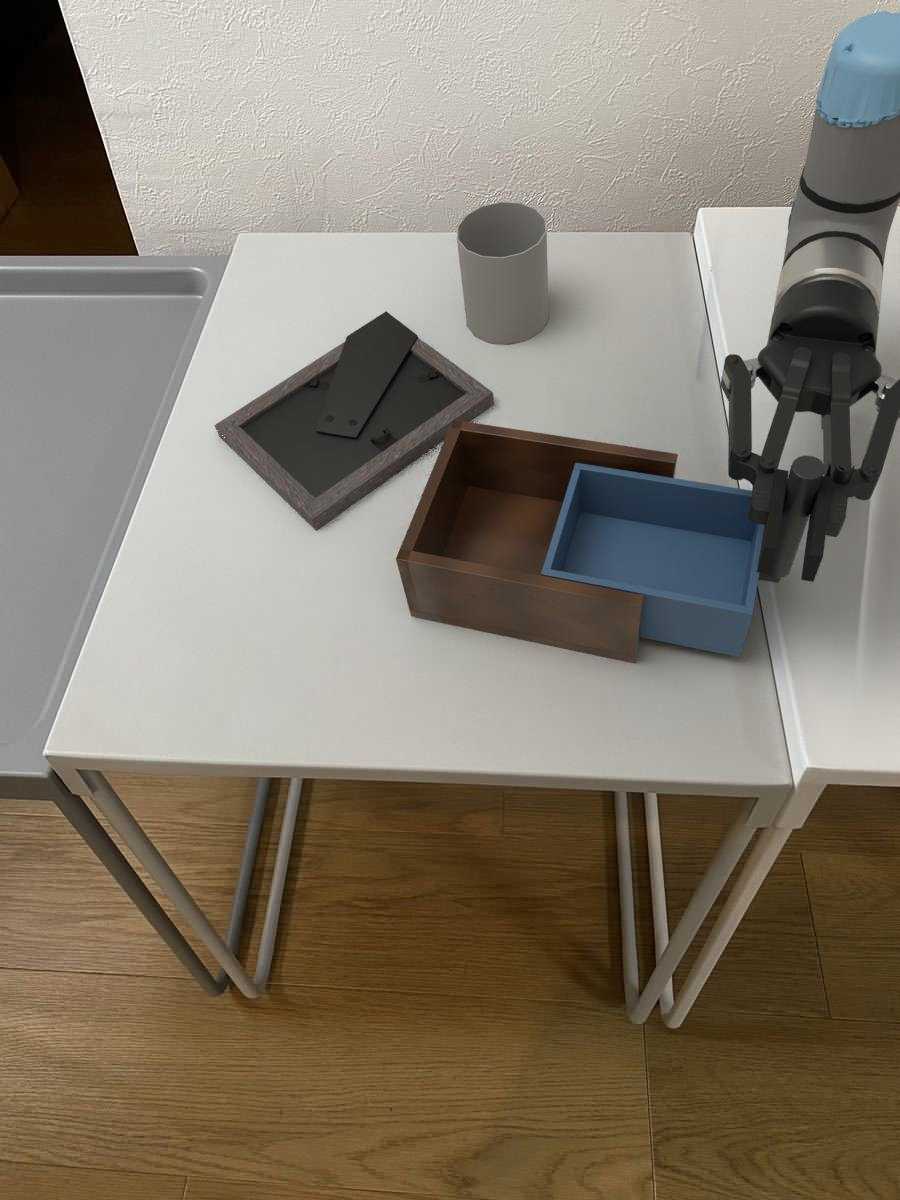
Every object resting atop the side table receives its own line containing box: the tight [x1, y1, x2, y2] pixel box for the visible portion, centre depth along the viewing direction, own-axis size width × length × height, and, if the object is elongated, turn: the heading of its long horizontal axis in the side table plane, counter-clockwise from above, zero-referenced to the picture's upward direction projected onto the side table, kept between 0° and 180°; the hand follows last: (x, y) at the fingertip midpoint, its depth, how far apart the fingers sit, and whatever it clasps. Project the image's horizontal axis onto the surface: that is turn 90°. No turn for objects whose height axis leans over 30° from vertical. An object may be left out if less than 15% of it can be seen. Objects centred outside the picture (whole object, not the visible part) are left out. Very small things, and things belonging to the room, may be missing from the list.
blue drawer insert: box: [541, 454, 825, 658], centre depth 67 cm, size 17×11×15 cm, turn 73°
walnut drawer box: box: [395, 420, 678, 664], centre depth 73 cm, size 18×14×8 cm
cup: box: [456, 201, 550, 346], centre depth 90 cm, size 8×8×10 cm
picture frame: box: [213, 310, 495, 531], centre depth 87 cm, size 16×2×21 cm
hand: (789, 564), depth 58 cm, fingers closed on blue drawer insert, 2 cm apart
